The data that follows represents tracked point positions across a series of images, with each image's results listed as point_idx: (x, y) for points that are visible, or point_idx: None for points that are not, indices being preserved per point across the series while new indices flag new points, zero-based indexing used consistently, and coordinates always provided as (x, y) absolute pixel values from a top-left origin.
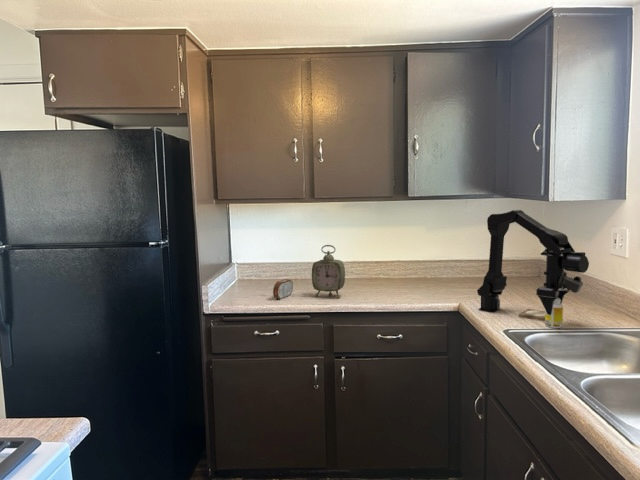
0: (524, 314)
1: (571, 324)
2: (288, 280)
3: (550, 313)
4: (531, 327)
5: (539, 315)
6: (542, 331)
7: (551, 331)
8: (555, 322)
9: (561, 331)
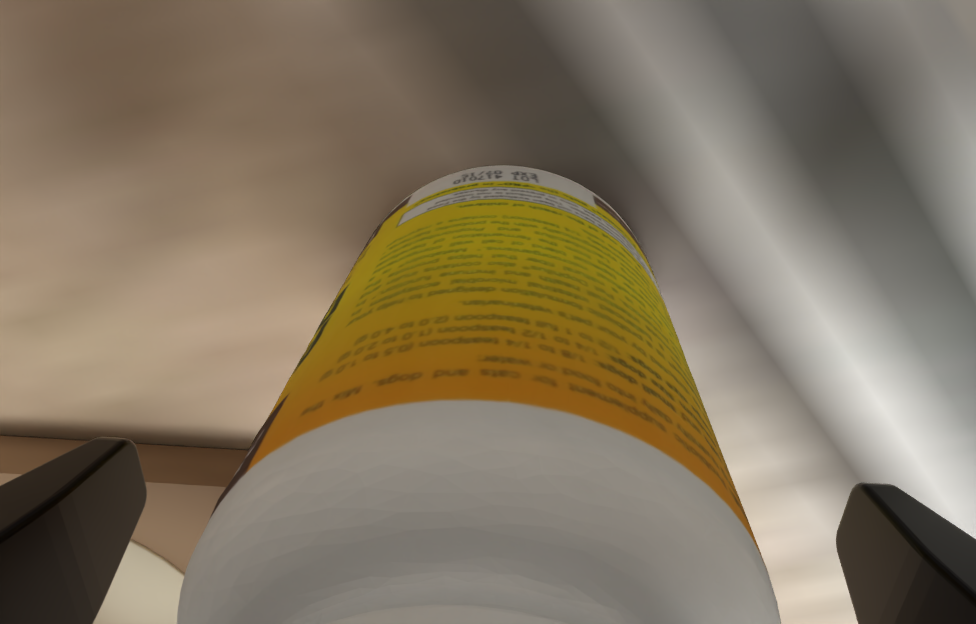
0: None
1: (114, 68)
2: None
3: (927, 515)
4: (768, 528)
5: (177, 594)
6: (944, 362)
7: (874, 247)
8: (658, 292)
9: (783, 97)
